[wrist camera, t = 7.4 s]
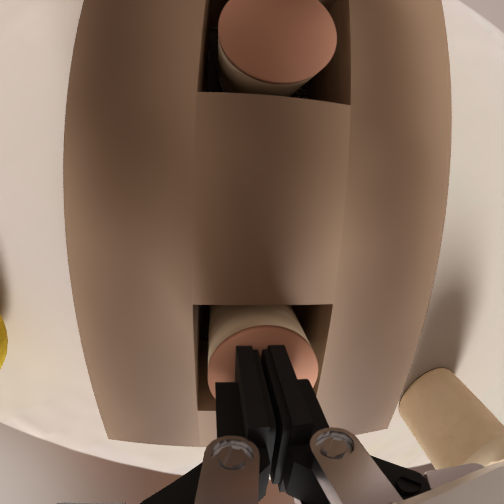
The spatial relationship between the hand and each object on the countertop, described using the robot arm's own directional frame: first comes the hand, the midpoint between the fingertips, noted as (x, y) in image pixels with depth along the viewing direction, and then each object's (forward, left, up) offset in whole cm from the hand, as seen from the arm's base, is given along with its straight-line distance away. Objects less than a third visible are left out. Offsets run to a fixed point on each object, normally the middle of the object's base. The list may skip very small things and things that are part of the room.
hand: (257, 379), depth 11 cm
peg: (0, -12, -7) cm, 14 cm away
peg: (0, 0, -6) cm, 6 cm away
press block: (0, -6, -7) cm, 9 cm away
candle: (-15, +9, -7) cm, 19 cm away
